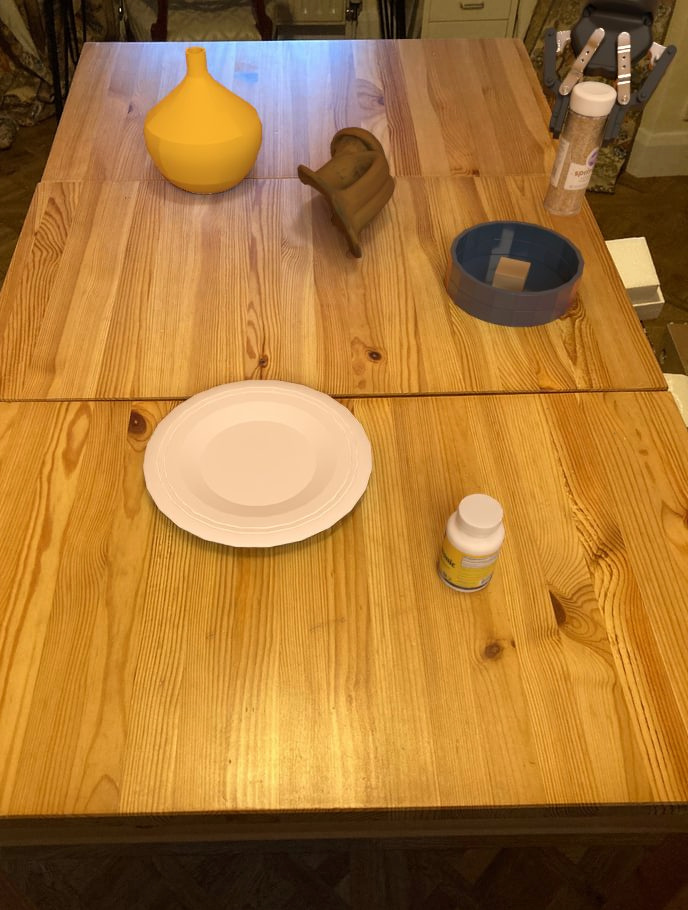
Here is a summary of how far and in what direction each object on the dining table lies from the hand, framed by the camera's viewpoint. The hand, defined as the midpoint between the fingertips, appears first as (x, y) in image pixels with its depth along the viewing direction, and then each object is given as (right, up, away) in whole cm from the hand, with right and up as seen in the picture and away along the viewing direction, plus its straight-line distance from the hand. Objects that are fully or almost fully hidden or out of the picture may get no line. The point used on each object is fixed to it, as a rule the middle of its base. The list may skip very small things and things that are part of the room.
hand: (580, 140), depth 82 cm
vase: (-45, +14, +43) cm, 64 cm away
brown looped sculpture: (-23, +4, +34) cm, 42 cm away
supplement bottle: (-14, -46, -6) cm, 48 cm away
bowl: (-2, -9, +23) cm, 25 cm away
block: (-2, -10, +22) cm, 24 cm away
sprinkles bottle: (+1, -4, +9) cm, 10 cm away
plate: (-35, -35, +3) cm, 49 cm away
